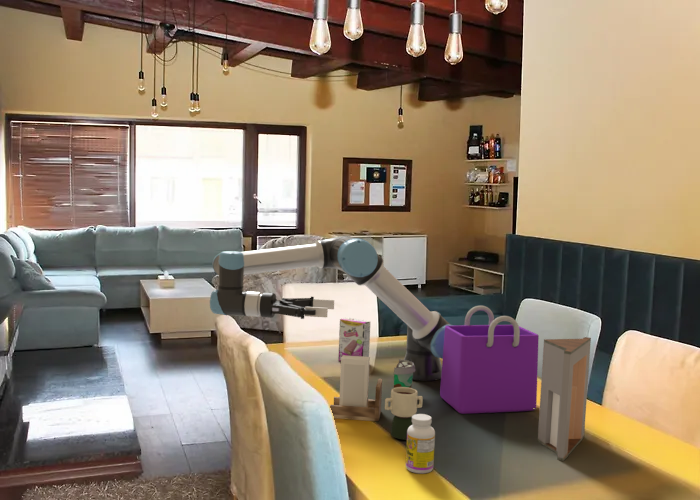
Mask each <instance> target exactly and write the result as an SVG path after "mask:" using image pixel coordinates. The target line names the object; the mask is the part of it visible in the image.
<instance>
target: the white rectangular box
mask: <svg viewBox="0 0 700 500" xmlns="http://www.w3.org/2000/svg"><path fill="white" fill-rule="evenodd" d="M370 358H371V357H370V356H369V357H362V356H346V355H343V356H342V358H341V361H340V372H339V373H340V377H339V378H340V379H339V381H340V382H339V397H340V401H339V405H342V406H356V407H368V399H369V385H370V384H369V383H370V382H369V380H370Z"/></svg>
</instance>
